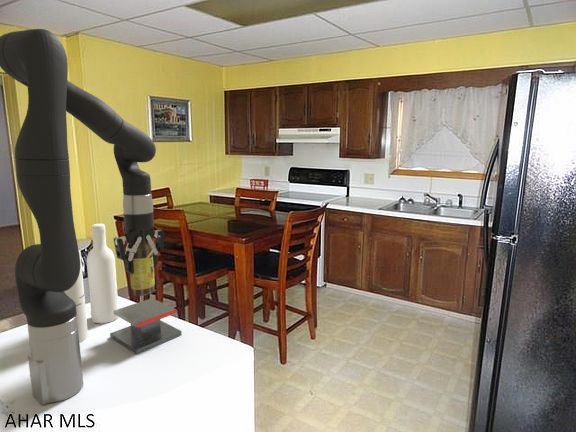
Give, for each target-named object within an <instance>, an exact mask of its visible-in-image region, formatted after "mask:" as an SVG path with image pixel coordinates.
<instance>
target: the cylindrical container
mask: <svg viewBox="0 0 576 432" xmlns="http://www.w3.org/2000/svg"><path fill="white" fill-rule="evenodd" d="M78 250H79V249H78ZM79 255H80V273H79V277H78V279H77V281H76V283H75V284H74V285H73V286H72V287H71V288H70V289H69V290H67V291H64V292H65V293H66V295H68V296H69V297H70V298H71V299H72V300H73V301H74V302H75V304H76V311H77V322H78V333H79V343H82V342H84V341H85V340H87V339H88V337H89V334H88V333H89V331H88V323H87V322H88V321H87V319H88V318H87V311H86V310H87V309H86V299H85V298H86V297H85V288H84V287H85V286H84V278H83V266H82V253H81V250H79Z"/></svg>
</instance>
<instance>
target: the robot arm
mask: <svg viewBox="0 0 576 432" xmlns="http://www.w3.org/2000/svg"><path fill="white" fill-rule="evenodd" d="M68 64H69V63H68V57H67V53H66V50H65V47H64V45H63V43H62V41H61V40H60V39H59V37H57V35H56V34H55V33H53V32H52V31H49V30H47V29H44V28H30V29H25V30H18V31H17V30H16V31H11V32H7V33H4V34H2V35H1V36H0V68H1V70H2V71H3V72H4V73H5V74H6V75H8V76H9V77H11V78H12V79H14V80H15V81H17V82H19V83H20V84H22V85H24V86H25V87H27V95H28V97H27V98H28V100H27V101H28V103H27V111H26V113H25V118H24V120H23V123H22V125H21V128H20V131H19V134H18V136H17V138H16V143H15V146H14V159H15V161H14V162H15V163H14V164H15V172H16V182H17V185H18V188H19V191H20V193H21V195H22V198H23V199H24V201H25V203H26V204H27V206H28V208H29V209H30V212H31V213H32V215H33V217H34V220H35V222H36V224H37V228H38V232H39V238H40V239H39V243H36V244H31V245H29V246H27V247H26V248H23V249H22V251H21V252H19V254H18V257H17V259H16V262H15V267H14V277H15V284H16V290H17V294H18V295H17V297H18V301H19V305H20V309H21V311H22V312H23V314H24V315H25V318H26V324H27V331H28V332H27V333H28V341H29V348H30V353H28V354H27V359H28V367H29V368H28V369H29V376H30V377H29V379H30V384H31V385H30V386H31V392H32V395H33V396H34V398H36V400H37V401H38V402H39V403H40V404H41V405H42V406H45V405H48V404H51V403H57V402H62V401H64V400H68V399H69V398H71V397H73V396H75V395H77V394H78V393H79V392H80V391H81V390H82V389H83V387H84V374H83V366H82V365H83V364H82V356H81V354H82V353H81V345H80V343H81V342H80V343H79V333H78V322H77V311H76V304H75V302H74V301H73V300H72V299H71V298H70V297H69V296H68V295H66V293H65V292H64V291H67V290H69V289H70V288H71V287H72V286H73V285H74V284H75V283H76V281H77V279H78V277H79V273H80V255H79V246H78V240H77V239H78V238H77V234H76V229H75V222H74V214H73V203H72V193H71V191H72V190H71V169H70V167H71V166H70V156H69V155H70V154H69V148H68V128H67V127H68V126H67V125H68V123H67V113H68V114H70V115H71V116H72V117H74V118H75V119H76V120H77V121H79V122H80V123H82V124H83V125H84V126H85V127H86V128H88V129H89V130H90V131H92V133H94V134H95V135H96V136H97V137H98V138H100V139H101V140H102V141H104V142H105V143H108V144H109V145H113V155H114V160H115V163H116V165H117V168H118V171H119V174H120V177H121V181H122V195H123V196H122V208H123V210H122V211H123V226H124V230H125V232H124V234H123V235H122V236H120V237H117V236H116V237H114V238H113V244H114V249H115V254H116V258H117V259H118V260H121V261H124V266H125V272H126V273H128V274H129V275H130V274H134V265H133V260H132V259H133V256H134V253H136V251H137V248H138V246H139V244H140V242H141V240H142V238H141V237H139V236H138V230H146V236H145V238H146V240H147V242H148V243H149V244H150V245H151V247H152V249H153V263H154V269H156V268H157V266H158V254H159V253H160V252H163V251H164V247H165V244H164V243H165V230H162V229H159V228H158V229H156V230H155V229H154V227H155V220H154V219H155V217H154V216H155V215H154V201H153V197H152V196H153V195H152V182H151V181H152V180H151V175H150V174H149V173H148V172H146V171H144V170H141V168H140V167H139V164H138V163H148V162H150V161H152V160H153V159H154V158H155V157H156V152H157V149H156V144H155V143H154V141H153V139H152V138H151V137H150V136H149V135H148V134H147V133H146V132H145V131H143V130H141V129H139V128H138V127H136V126H135V125H134V124H131V123H129V122H128V121H126V120H124V118H123V117H122V116H120V114H119V113H117V112H116V111H115V110H114V109H113V108H112V107H111V106H110V105H109V104H107V103H106V102H105V101H103V100H102V99H100V98H99V97H98V96H96V95H94V94H92V93H90V92H88V91H87V90H84V89H82V88H80V87H79V86H77V85H75V84H74V83H72V82H71V81H69V80H68V72H69V71H68V67H69V66H68ZM154 237H155V240H154V241H155V242H154V241H153V238H154ZM125 242H127V244H126V243H125ZM125 244H126V247H125ZM130 246H132V249H130V248H129V247H130ZM129 251H130V253H129Z"/></svg>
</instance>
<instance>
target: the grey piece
mask: <svg viewBox="0 0 576 432" xmlns="http://www.w3.org/2000/svg"><path fill="white" fill-rule="evenodd" d="M177 311H178V310H177V309H176V308H174V307H172V306H170V305H168V304H165V303H164V302H161V301H159V300H157V299H155V298H153V297H150V298H148V299H145V300H142V301H138V302H136V303H134V304H133V303H132V304H130V305H127V306H123V307H121V308H120V307H119V309H117V310H114V314H115V315H116V316H118V318H120V319H121V320H123V321H125V322H126V323H128V324H130V325H129V326H125V327H124V328H121V329H118V330H115V331H112V332H110V333H109V337H110V338H111V339H112V340H114V341H115V342H116V343H119V344H120V345H121V346H123V347H125V348H126V349H128V350H129V351H131V352H132V353H133V354H135V355H139V354H141V353H143V352H146V351H147V350H150V349H152V348H155V347H157V346H159V345H162V344H164V343H166V342H168V341H170V340H173V339H175V338H177V337H180V336H182V335H183V334H182V330H181V329H178V328H177V327H175V326H173V325H171V324H169V323H166V322H164V321H163V320H162V319H164V318H167V317H169V316H172V315H175V314H177V313H178V312H177Z"/></svg>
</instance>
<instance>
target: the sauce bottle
mask: <svg viewBox="0 0 576 432" xmlns="http://www.w3.org/2000/svg"><path fill="white" fill-rule="evenodd" d="M138 236H139V237H141V238H142V240H141V242H140V244H139V246H138V248H137V251H136V253H134V256H133V259H132V260H133V265H134V274H129V278H130V289H131V295H132V296H135V297H143V296H149V295H150V294H153V293H154V291H155V283H156V282H155V268H154V263H153V249H152V247H151V245H150V244H149V243H148V242H147V240H146V238H145V236H146V230H138ZM129 248H130V249H132V246H130V247H129ZM129 253H130V251H129Z"/></svg>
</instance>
